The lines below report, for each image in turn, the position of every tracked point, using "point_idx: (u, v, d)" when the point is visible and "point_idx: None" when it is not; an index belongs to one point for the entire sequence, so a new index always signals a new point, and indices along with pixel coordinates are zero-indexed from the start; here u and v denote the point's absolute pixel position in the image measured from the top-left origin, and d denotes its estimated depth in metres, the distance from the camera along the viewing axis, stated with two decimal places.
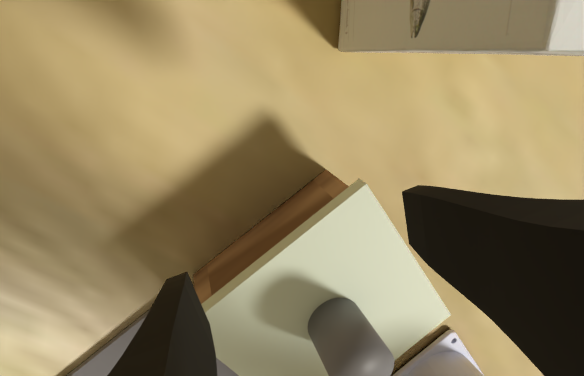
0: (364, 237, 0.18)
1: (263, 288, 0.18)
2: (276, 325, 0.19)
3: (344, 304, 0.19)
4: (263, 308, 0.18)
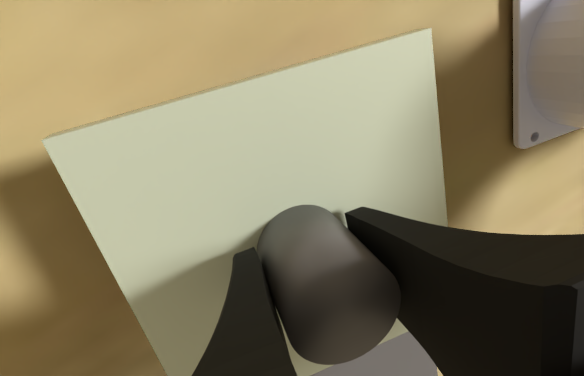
0: (162, 167, 0.10)
1: (182, 333, 0.12)
2: None
3: (267, 239, 0.11)
4: None
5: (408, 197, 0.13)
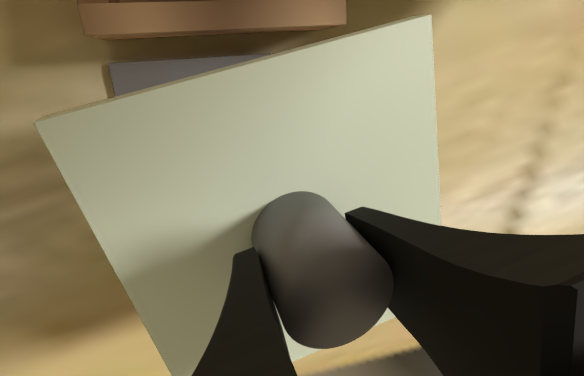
0: (157, 152, 0.10)
1: (176, 317, 0.12)
2: None
3: (262, 225, 0.11)
4: (211, 321, 0.12)
5: (403, 185, 0.13)
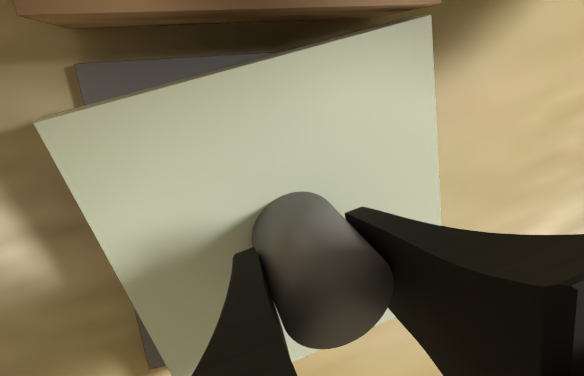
0: (158, 152, 0.10)
1: (177, 317, 0.12)
2: None
3: (262, 225, 0.11)
4: (211, 321, 0.12)
5: (403, 185, 0.13)
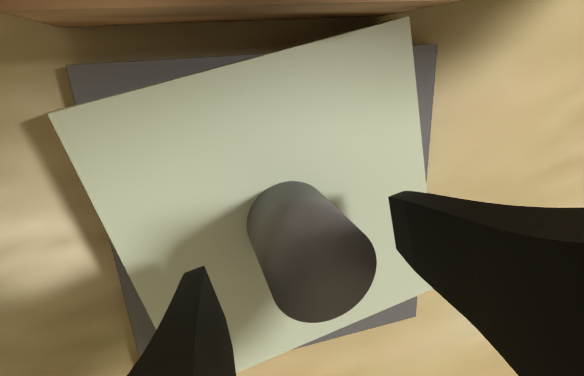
0: (158, 142, 0.11)
1: None
2: (247, 295, 0.13)
3: (255, 211, 0.12)
4: None
5: (390, 176, 0.14)
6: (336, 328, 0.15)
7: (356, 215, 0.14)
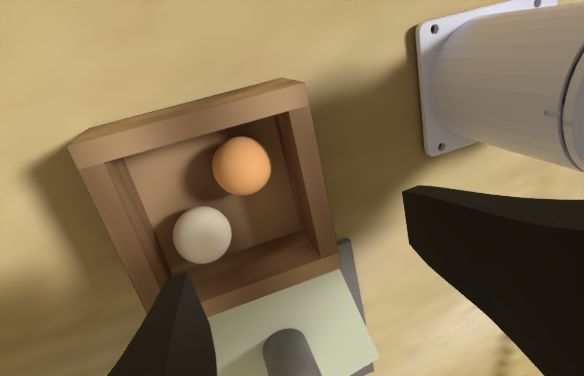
0: (214, 331, 0.22)
1: None
2: None
3: (265, 351, 0.23)
4: None
5: (336, 313, 0.25)
6: None
7: (321, 335, 0.25)
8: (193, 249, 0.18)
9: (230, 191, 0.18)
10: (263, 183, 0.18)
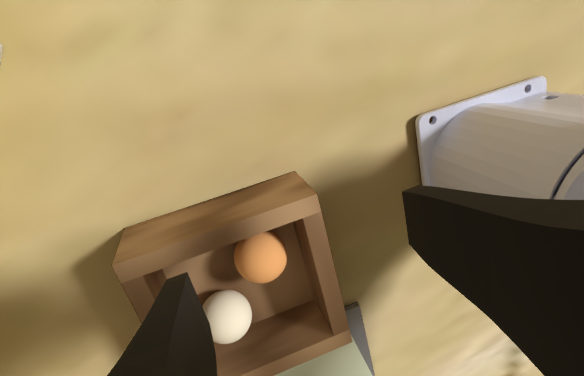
0: None
1: None
2: None
3: None
4: None
5: (347, 370, 0.27)
6: None
7: None
8: (219, 334, 0.20)
9: (251, 281, 0.20)
10: (280, 273, 0.20)
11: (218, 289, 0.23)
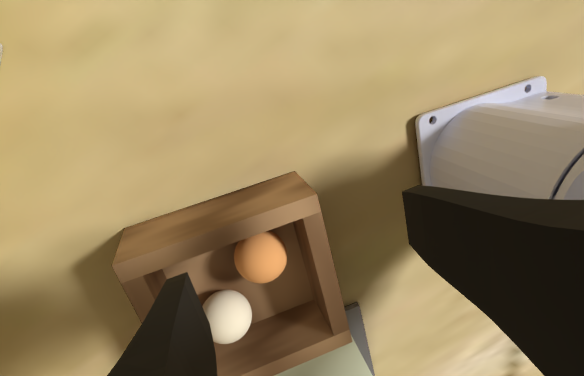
0: None
1: None
2: None
3: None
4: None
5: (347, 370, 0.27)
6: None
7: None
8: (219, 334, 0.20)
9: (251, 281, 0.20)
10: (280, 273, 0.20)
11: (218, 289, 0.23)
